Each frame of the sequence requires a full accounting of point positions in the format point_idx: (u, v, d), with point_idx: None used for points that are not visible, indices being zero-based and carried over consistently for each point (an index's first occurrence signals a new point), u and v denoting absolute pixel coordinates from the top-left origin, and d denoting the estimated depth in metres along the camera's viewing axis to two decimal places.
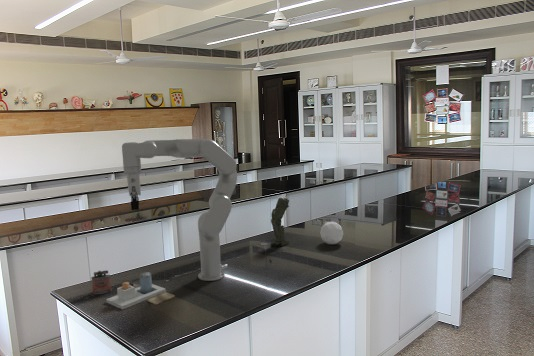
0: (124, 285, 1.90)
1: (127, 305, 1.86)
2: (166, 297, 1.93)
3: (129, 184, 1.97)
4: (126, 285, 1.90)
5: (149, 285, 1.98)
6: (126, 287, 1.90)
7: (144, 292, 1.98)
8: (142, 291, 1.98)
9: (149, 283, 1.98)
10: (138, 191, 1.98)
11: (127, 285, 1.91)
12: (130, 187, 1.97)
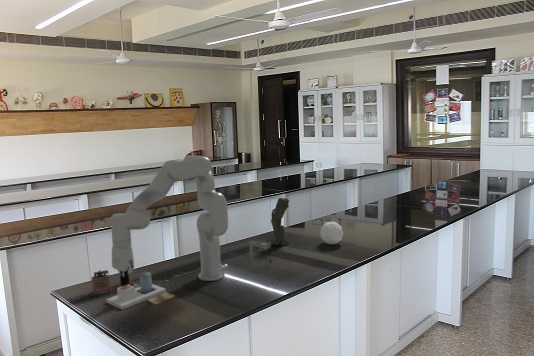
0: (124, 286, 1.90)
1: (127, 305, 1.86)
2: (166, 297, 1.93)
3: None
4: (126, 286, 1.90)
5: (149, 285, 1.98)
6: (126, 288, 1.91)
7: (144, 292, 1.98)
8: (142, 291, 1.98)
9: (149, 283, 1.98)
10: None
11: (127, 286, 1.91)
12: None
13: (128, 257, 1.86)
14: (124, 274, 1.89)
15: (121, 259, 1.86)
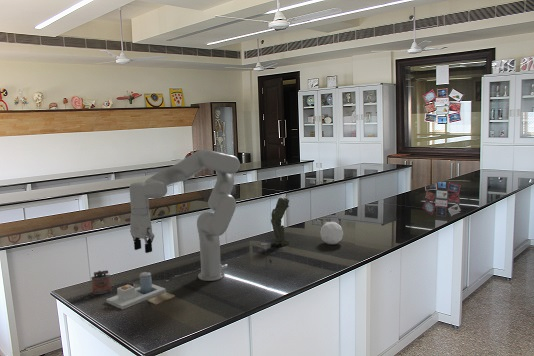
0: (124, 288, 1.90)
1: (127, 305, 1.86)
2: (166, 297, 1.93)
3: None
4: (126, 288, 1.91)
5: (149, 285, 1.98)
6: None
7: (144, 292, 1.98)
8: (142, 291, 1.98)
9: (149, 283, 1.98)
10: None
11: (127, 288, 1.91)
12: None
13: (146, 224, 1.92)
14: (146, 240, 1.93)
15: (140, 226, 1.92)
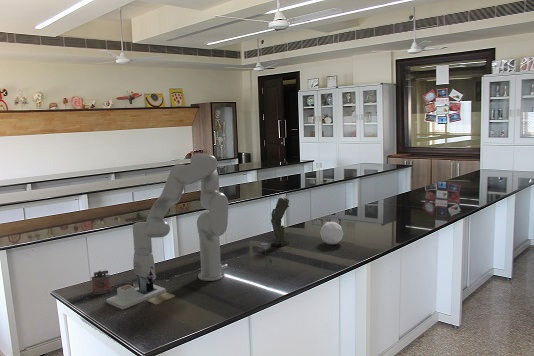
0: (124, 288, 1.90)
1: (127, 305, 1.86)
2: (166, 297, 1.93)
3: None
4: (126, 288, 1.91)
5: None
6: None
7: (144, 292, 1.98)
8: (142, 291, 1.98)
9: None
10: None
11: (127, 288, 1.91)
12: None
13: (149, 264, 1.94)
14: (148, 280, 1.96)
15: (143, 266, 1.94)
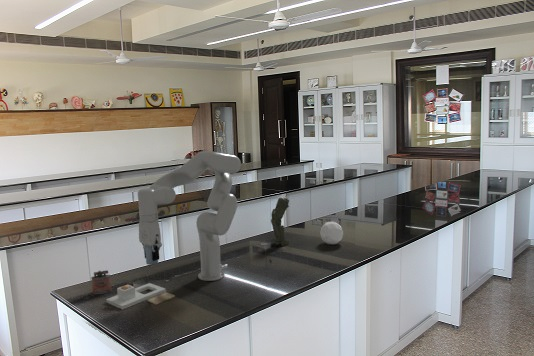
0: (124, 288, 1.90)
1: (127, 305, 1.86)
2: (166, 297, 1.93)
3: None
4: (126, 288, 1.91)
5: None
6: None
7: (149, 261, 1.92)
8: (147, 260, 1.92)
9: None
10: None
11: (127, 288, 1.91)
12: None
13: (155, 231, 1.88)
14: (154, 248, 1.90)
15: (148, 233, 1.88)
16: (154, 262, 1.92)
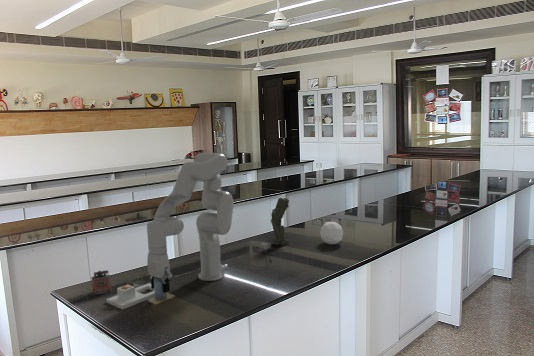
0: (124, 288, 1.90)
1: (127, 305, 1.86)
2: None
3: None
4: (126, 288, 1.91)
5: None
6: None
7: (159, 296, 1.91)
8: (156, 295, 1.91)
9: None
10: None
11: (127, 288, 1.91)
12: None
13: (164, 264, 1.88)
14: (164, 280, 1.88)
15: (158, 266, 1.87)
16: (163, 297, 1.91)
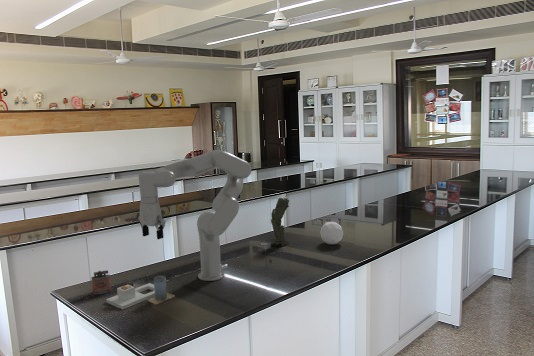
0: (124, 288, 1.90)
1: (127, 305, 1.86)
2: None
3: None
4: (126, 288, 1.91)
5: (164, 289, 1.91)
6: None
7: (159, 296, 1.91)
8: (156, 295, 1.91)
9: (164, 287, 1.91)
10: None
11: (127, 288, 1.91)
12: None
13: (157, 212, 1.96)
14: (158, 227, 1.97)
15: (150, 214, 1.96)
16: (163, 297, 1.91)
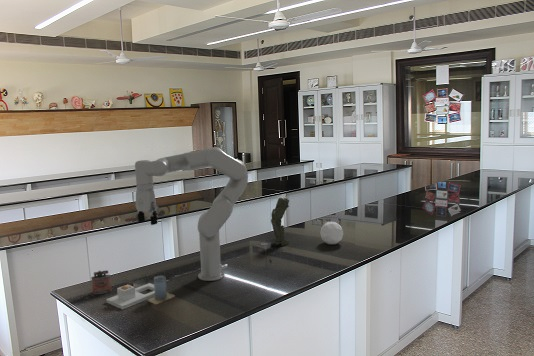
0: (124, 288, 1.90)
1: (127, 305, 1.86)
2: None
3: None
4: (126, 288, 1.91)
5: (164, 289, 1.91)
6: None
7: (159, 296, 1.91)
8: (156, 295, 1.91)
9: (164, 287, 1.91)
10: None
11: (127, 288, 1.91)
12: None
13: (151, 199, 2.06)
14: (152, 213, 2.06)
15: (145, 201, 2.06)
16: (163, 297, 1.91)
